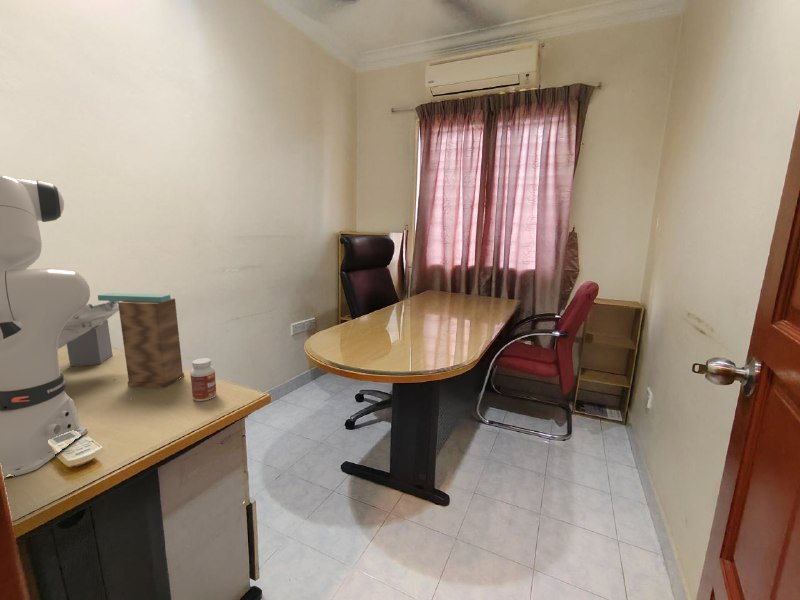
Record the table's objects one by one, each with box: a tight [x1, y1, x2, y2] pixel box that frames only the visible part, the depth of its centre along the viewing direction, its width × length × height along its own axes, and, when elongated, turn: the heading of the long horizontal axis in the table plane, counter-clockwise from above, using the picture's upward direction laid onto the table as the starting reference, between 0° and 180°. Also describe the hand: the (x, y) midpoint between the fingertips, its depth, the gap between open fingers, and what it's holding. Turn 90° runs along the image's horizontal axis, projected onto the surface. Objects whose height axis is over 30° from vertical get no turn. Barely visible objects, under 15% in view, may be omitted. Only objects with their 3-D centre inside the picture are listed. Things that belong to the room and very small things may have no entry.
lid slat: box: [97, 292, 172, 303], centre depth 113 cm, size 20×4×2 cm, turn 86°
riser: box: [66, 319, 113, 367], centre depth 133 cm, size 9×9×14 cm
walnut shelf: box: [117, 298, 185, 389], centre depth 116 cm, size 12×9×26 cm
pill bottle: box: [190, 357, 217, 402], centre depth 107 cm, size 6×6×11 cm
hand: (103, 303), depth 114 cm, fingers open, 8 cm apart
